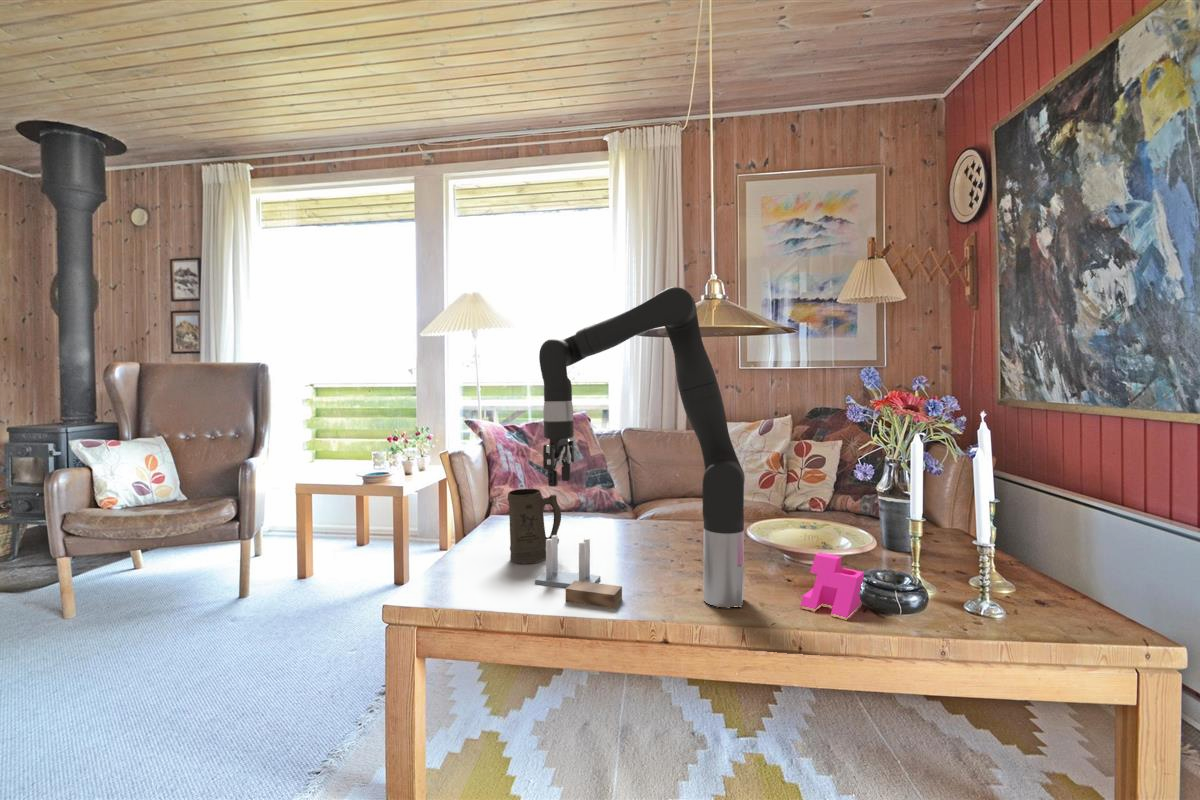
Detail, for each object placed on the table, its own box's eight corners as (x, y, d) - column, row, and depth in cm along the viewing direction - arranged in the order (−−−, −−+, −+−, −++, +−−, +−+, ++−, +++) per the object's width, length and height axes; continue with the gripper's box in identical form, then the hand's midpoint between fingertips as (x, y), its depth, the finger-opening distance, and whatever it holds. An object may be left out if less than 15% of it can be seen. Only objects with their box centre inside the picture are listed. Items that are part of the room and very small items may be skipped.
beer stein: (509, 566, 160) (509, 495, 159) (505, 555, 170) (505, 488, 170) (563, 562, 164) (563, 492, 164) (556, 551, 174) (556, 486, 174)
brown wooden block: (621, 600, 136) (622, 586, 136) (614, 610, 130) (614, 595, 130) (575, 594, 140) (575, 580, 140) (565, 603, 134) (565, 588, 134)
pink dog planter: (818, 594, 140) (819, 552, 139) (863, 605, 133) (864, 561, 133) (800, 609, 130) (800, 564, 130) (847, 621, 124) (847, 574, 123)
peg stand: (600, 579, 149) (600, 537, 149) (590, 590, 142) (590, 546, 141) (547, 573, 154) (547, 533, 154) (534, 583, 146) (534, 540, 146)
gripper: (561, 421, 136) (562, 488, 136) (582, 417, 149) (583, 479, 150) (532, 420, 138) (534, 487, 139) (555, 417, 152) (557, 478, 152)
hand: (559, 483), depth 144 cm, fingers open, 8 cm apart
